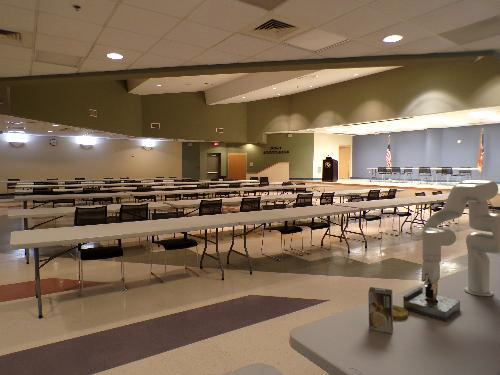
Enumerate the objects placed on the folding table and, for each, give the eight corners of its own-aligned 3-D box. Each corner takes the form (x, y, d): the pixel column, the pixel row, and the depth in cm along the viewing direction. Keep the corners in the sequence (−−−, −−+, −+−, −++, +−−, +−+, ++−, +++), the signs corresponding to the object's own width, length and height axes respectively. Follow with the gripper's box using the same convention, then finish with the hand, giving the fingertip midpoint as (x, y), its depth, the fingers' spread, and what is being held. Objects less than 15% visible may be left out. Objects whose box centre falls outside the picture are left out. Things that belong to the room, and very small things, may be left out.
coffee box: (393, 327, 138) (393, 289, 138) (392, 334, 133) (392, 294, 132) (370, 323, 143) (370, 286, 142) (368, 329, 137) (367, 291, 136)
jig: (419, 299, 167) (419, 286, 167) (459, 310, 154) (460, 296, 153) (403, 309, 155) (403, 296, 155) (445, 322, 142) (445, 307, 141)
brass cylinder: (428, 300, 157) (428, 279, 157) (437, 302, 154) (437, 281, 154) (425, 302, 154) (425, 281, 154) (434, 305, 151) (434, 283, 151)
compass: (388, 307, 159) (388, 302, 159) (413, 315, 150) (413, 310, 150) (374, 314, 152) (374, 309, 152) (399, 323, 143) (398, 318, 142)
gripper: (430, 252, 162) (430, 289, 162) (415, 259, 151) (415, 298, 152) (447, 255, 156) (446, 293, 157) (433, 262, 145) (432, 303, 146)
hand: (431, 295), depth 154 cm, fingers closed on brass cylinder, 4 cm apart
